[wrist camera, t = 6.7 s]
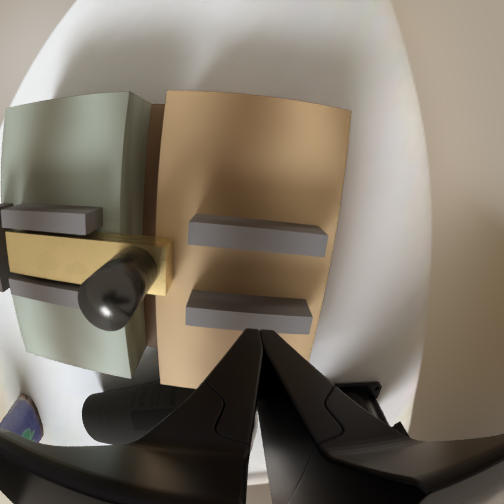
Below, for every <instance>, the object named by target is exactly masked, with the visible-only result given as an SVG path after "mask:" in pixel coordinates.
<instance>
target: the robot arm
mask: <svg viewBox="0 0 504 504" xmlns="http://www.w3.org/2000/svg"><path fill="white" fill-rule="evenodd" d="M375 387H376V388H375ZM381 387H382V386H381V384H380V383H379V382H369V383H350V384H333V383H332V382H331V381H329V380H328V379H327V378H326V377H325V376H324V375H323V374H322V373H320V372H319V371H318V370H317V369H316V368H315V367H314V366H313V365H311V364H310V363H309V362H308V361H307V360H306V359H305V358H304V357H302V356H301V355H300V354H299V353H298V352H297V351H296V350H295V349H294V348H293V347H291V346H290V345H289V344H288V343H287V342H286V341H285V340H284V339H283V338H282V337H281V336H279V335H278V334H277V333H276V332H275V331H274V330H267V329H261V330H260V331H259V329H252V328H246V329H245V330H244V331H243V333H242V334H241V335H240V336H239V338H238V339H237V340H236V341H235V343H234V344H233V345H232V346H231V348H230V349H229V350H228V351H227V353H226V354H225V355H224V356H223V357H222V359H221V360H220V361H219V362H218V364H217V365H216V366H215V367H214V369H213V370H212V371H211V372H210V373H209V375H208V376H207V377H206V378H205V379H204V381H203V382H202V383H201V384H200V385H199V386H198V388H197V389H196V390H195V391H194V392H193V393H192V394H191V395H190V396H189V398H188V399H187V400H186V401H184V402H183V403H182V404H181V405H180V406H179V407H178V408H177V409H176V410H174V411H173V412H172V413H171V414H169V415H168V416H167V417H166V418H165V419H163V420H162V421H161V422H160V423H158V424H157V425H156V426H155V427H153V428H152V429H151V430H150V431H148V432H147V433H146V434H145V435H143V436H142V437H140V438H139V439H137V440H135V441H133V442H130V443H127V444H121V445H106V446H53V445H46V444H41V443H38V442H34V441H31V440H29V439H26V438H24V437H22V436H20V435H18V434H16V433H14V432H11V431H9V430H6V429H3V428H0V490H1V491H2V492H3V493H4V495H6V496H7V498H8V499H9V500H10V501H12V503H14V504H246V492H247V478H248V464H249V456H250V448H251V442H252V434H253V427H254V420H255V413H256V405H257V408H258V415H259V422H260V428H261V435H262V441H263V448H264V454H265V460H266V467H267V473H268V479H269V485H270V491H271V497H272V503H273V504H504V434H500V435H496V436H491V437H484V438H474V439H465V440H452V441H433V442H425V441H418V440H414V439H412V438H410V437H409V435H408V433H407V432H406V430H405V428H404V427H403V425H402V424H401V422H398V423H396V424H394V426H393V427H391V426H389V424H388V422H387V420H386V418H385V416H384V414H383V412H382V410H381V408H380V406H379V404H378V402H377V400H376V399H377V397H378V395H379V392H380V390H381Z"/></svg>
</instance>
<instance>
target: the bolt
mask: <svg viewBox="0 0 504 504" xmlns="http://www.w3.org/2000/svg"><path fill="white" fill-rule="evenodd" d="M5 234H6V244H7V253H8V260H9V267H10V272H13V273H19V274H24V275H29V276H35V277H40V278H46V279H51V280H57V281H63V282H69V283H75V284H81V286H80V288H79V290H78V304H79V307H80V310H81V312H82V313H83V315H84V316H85V318H86V319H87V320H88V321H89V322H90V323H91V324H92V325H94V326H95V327H97V328H99V329H102V330H105V331H117V330H120V329H122V328H123V327H124V326H125V325H126V324H127V323H128V321H129V320H130V318H131V317H132V315H133V313H134V312H135V310H136V309H137V307H138V306H139V304H140V303H141V301H142V300H143V298H144V297H145V295H146V294H153V295H162V296H166V294H167V292H168V291H169V289H170V287H171V285H172V283H173V242H174V238H165V237H154V236H143V235H131V234H120V233H108V232H97V231H93V232H91V233H89V234H87V235H77V234H66V233H55V232H44V231H33V230H22V229H11V230H8V231H6V232H5Z"/></svg>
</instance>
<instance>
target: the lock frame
mask: <svg viewBox="0 0 504 504" xmlns="http://www.w3.org/2000/svg"><path fill="white" fill-rule="evenodd" d="M350 121H351V111H349V110H345V109H340V108H335V107H330V106H325V105H320V104H314V103H309V102H303V101H296V100H290V99H283V98H275V97H267V96H259V95H249V94H238V93H226V92H209V91H175V90H167V96H166V103H165V104H151V103H149V102H147V101H145V100H144V99H142V98H140V97H138V96H137V95H135V94H133V93H131V92H130V91H128V92H112V93H99V94H89V95H80V96H72V97H64V98H57V99H51V100H45V101H39V102H34V103H29V104H24V105H19V106H14V107H10V108H6V112H5V121H4V130H3V141H2V158H1V204H0V292H4V291H5V290H7V289H8V288H10V290H11V294H12V297H13V302H14V306H15V311H16V315H17V319H18V323H19V327H20V331H21V335H22V338H23V342H24V345H25V348H26V352H29V353H32V354H35V355H38V356H41V357H44V358H48V359H51V360H54V361H58V362H61V363H65V364H69V365H72V366H76V367H80V368H84V369H88V370H92V371H96V372H101V373H105V374H110V375H114V376H119V377H124V378H129V379H132V377H133V374H134V372H135V370H136V368H137V366H138V363H139V361H140V359H141V357H142V355H143V353H144V350H145V348H146V346H149V347H156V348H158V359H159V372H160V383H161V384H164V385H171V386H178V387H186V388H194V389H197V388H198V386H199V385H200V384H201V383H202V382H203V381H204V379H205V378H206V377H207V376H208V375H209V373H210V372H211V371H212V370H213V369H214V367H215V366H216V365H217V364H218V362H219V361H220V360H221V359H222V357H223V356H224V355H225V354H226V353H227V351H228V350H229V349H230V348H231V346H232V345H233V344H234V343H235V341H236V340H237V339H238V338H239V336H240V335H241V334H242V333H243V331H244V330H245V329H246V328H252V329H259V331H260V330H261V329H267V330H274V331H275V332H276V333H277V334H278V335H279V336H281V337H282V338H283V339H284V340H285V341H286V342H287V343H288V344H289V345H290V346H291V347H293V348H294V349H295V350H296V351H297V352H298V353H299V354H300V355H301V356H302V357H304V358H305V359H306V360H307V361H308V362H309V358H310V354H311V350H312V346H313V342H314V338H315V334H316V329H317V325H318V321H319V316H320V312H321V307H322V302H323V298H324V293H325V288H326V283H327V278H328V273H329V268H330V263H331V257H332V252H333V246H334V240H335V235H336V229H337V223H338V216H339V210H340V203H341V197H342V190H343V182H344V175H345V167H346V159H347V150H348V141H349V132H350ZM11 229H22V230H33V231H44V232H55V233H66V234H77V235H87V234H89V233H91V232H93V231H97V232H108V233H120V234H131V235H143V236H154V237H165V238H174V242H173V283H172V285H171V287H170V289H169V291H168V292H167V294H166V296H162V295H153V294H146V295H145V297H144V298H143V300H142V301H141V303H140V304H139V306H138V307H137V309H136V310H135V312H134V313H133V315H132V317H131V318H130V320H129V321H128V323H127V324H126V325H125V326H124V327H123V328H122V329H120V330H117V331H105V330H102V329H99V328H97V327H95V326H94V325H92V324H91V323H90V322H89V321H88V320H87V319H86V318H85V316H84V315H83V313H82V312H81V310H80V307H79V304H78V290H79V288H80V286H81V284H75V283H69V282H63V281H57V280H51V279H46V278H40V277H35V276H29V275H24V274H19V273H13V272H10V267H9V260H8V253H7V244H6V234H5V232H6V231H8V230H11Z"/></svg>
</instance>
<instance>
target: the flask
mask: <svg viewBox="0 0 504 504" xmlns="http://www.w3.org/2000/svg"><path fill="white" fill-rule="evenodd" d="M26 397H27V399H26ZM26 397H25V395H23V394H22V395H20V396H19V397H18V399H17V400H16V401H15V403H14V404H13V406H12V407H11V409H10V410H9V411H8V413H7V414H6V416H5V417H4V418H3V420H2V422H1V423H0V428H3V429H6V430H9V431H11V432H14V433H16V434H18V435H20V436H22V437H24V438H26V439H29V440H31V441H34V442H38V443H39V441H40V440H41V439H42V437H43V426H42V424H41V420H40V417H39V414H38V411H37V408H36V406H35V405H34V402H33V401H32V400H31V399H30V398H29V397H28V396H26Z"/></svg>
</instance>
